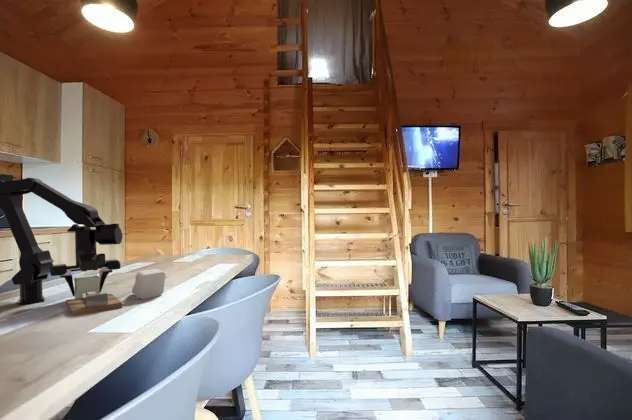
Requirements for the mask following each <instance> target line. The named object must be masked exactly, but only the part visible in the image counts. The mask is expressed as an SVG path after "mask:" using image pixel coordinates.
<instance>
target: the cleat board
mask: <svg viewBox="0 0 632 420" xmlns="http://www.w3.org/2000/svg"><path fill="white" fill-rule="evenodd" d="M65 302H66V303H65V306H66V308H67V309H68V311H69V312H70V316H72V317H74V316H80V315H86V314H92V313H98V312H104V311H110V310H115V309H116V310H117V309H122V308H123V302H122V301H121V300H119V298H117V297H116V296H114V294H113V293H107V292H103V293H102V292H101V293H100V294H97V293H96V292H95V291H94V290H92V291H86V293H85V297H84V296H83V298H77V299H75V298H71V299H66V300H65Z"/></svg>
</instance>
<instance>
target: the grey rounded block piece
mask: <svg viewBox="0 0 632 420" xmlns="http://www.w3.org/2000/svg"><path fill="white" fill-rule="evenodd" d="M165 281H166V273H165V272H164V271H162V270H161V269H159V268H153V269H147V270H145V269H143V270H140V271H138V272H137V273H136V274H135V280H134V284H133V287H132V289H131V292H132V294H133V295H135V296H136V297H138V298H139V299H141V300H146V299H151V298H154V297H159V296H161V295H162V294H164V290H165V289H164V288H165ZM145 298H146V299H145Z"/></svg>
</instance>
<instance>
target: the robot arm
mask: <svg viewBox="0 0 632 420" xmlns="http://www.w3.org/2000/svg"><path fill="white" fill-rule="evenodd" d="M30 193H32V194H34V195H35V196H37V197H39V198H41V199H42V200H44V201H46V202H47V203H49V204H51V205H52V206H54V207H56V208H58V209H60V211H62V212H63V213H64V214H65V216H66V217H67V218H68V219H69V220H71V221H72V222H73V223H74V224H72V225H71V227H69V228H68V229H67V232H68V233H71V232H72V233H74V241H75V242H74V245H75V246H74V247H75V248H74V249H75V251H74V252H75V265H67V264H66V263H62V264H61V263H60V264H53V263H54V262H55V260H54V259H53V258H52V255H51V252H50V250H48V249H47V250H42V249H41V247H39V245H38V243H37V239H36V237H35V235H34V233H33V230H32V228H31V226H30V223H29V221H28V218H27V216H26V214H25V212H24V209H23V207H22V206H23V199H24V196H23V195H27V194H28V195H29V194H30ZM0 210H1V211H2V212H3V216H5V219H6V223H7V224H8V226H9V229H10V231H11V234H12V236H13V238H14V241H15V243H16V246H17V248H18V250H19V254H20V255H19V260H18V265H19V270H18V271H17V273H16V274H14V275H13V276H12V277H11V281H12V283H13V286H15V285H18V286H19V299H17V301H18V302H17V303H18V305H24V304H32V303H39V302H45V297H44V296H43V294H44V293H43V281H44V280H47V279H48V277H49V275H50V276H51V277H56V276H59V278H61V279H62V278H63V279H65V281H66V283H67V285H68V287H69V290H70V292H71V294H72V296H73V297H75V284H74V281H73V279H74V278H73V274H72V272H87V271H97V270H99V275H98V277H99V287H100V293H102V290H103V287H104V284H105V281H106V280H107V277H108V275H109V274H110V273H113V270H121V261H120V260H118V259H116V258H114V259H106V253H98V254H97V244H98V245H100V246H104V245H108V246H109V245H113V246H114V245H120V244H121V243H122V241H123V235H124V234H123V232H122V229H121V227H120V223H118V222H117V223H110V224H109V223H108V224H106V223H105V221H104V220H103V219H102V218H101V217H100V216H99V211H98V209H96V208H95V207H94V206H92V205H89V204H86V203H82V202H80V201H76V200H74V199H71V198H70V197H68V196H67V195H66V194H63V193H62V192H60V191H58V190H56V189H55V188H54V187H52V186H50V185H48V184H46V183H45V182H43V181H42V179H40V178H34V177H26V178H25V177H24V178H20V179H14V180H7V181H5V180H0ZM80 225H81V226H80Z"/></svg>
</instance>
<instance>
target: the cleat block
mask: <svg viewBox="0 0 632 420" xmlns="http://www.w3.org/2000/svg"><path fill="white" fill-rule="evenodd" d="M73 279H74V281H73V285H74V291H75V296H74V299H77V298H84V294H86V291H92V290H94V291H95V292H96V293H97V294H101V292H100V287H99V275H97V274H91V275H80V276H74V278H73Z"/></svg>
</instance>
